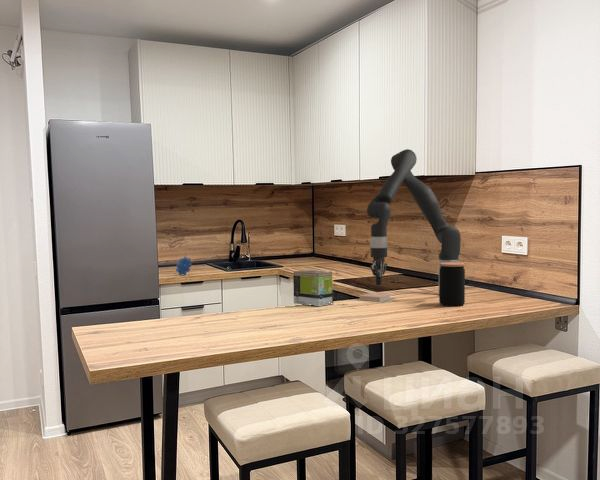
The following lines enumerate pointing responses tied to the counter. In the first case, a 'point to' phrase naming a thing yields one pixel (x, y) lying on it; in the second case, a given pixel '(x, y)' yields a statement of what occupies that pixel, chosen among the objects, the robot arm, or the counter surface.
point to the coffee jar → (452, 284)
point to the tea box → (312, 287)
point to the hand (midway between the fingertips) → (378, 284)
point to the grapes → (183, 266)
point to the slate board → (381, 301)
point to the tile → (374, 297)
